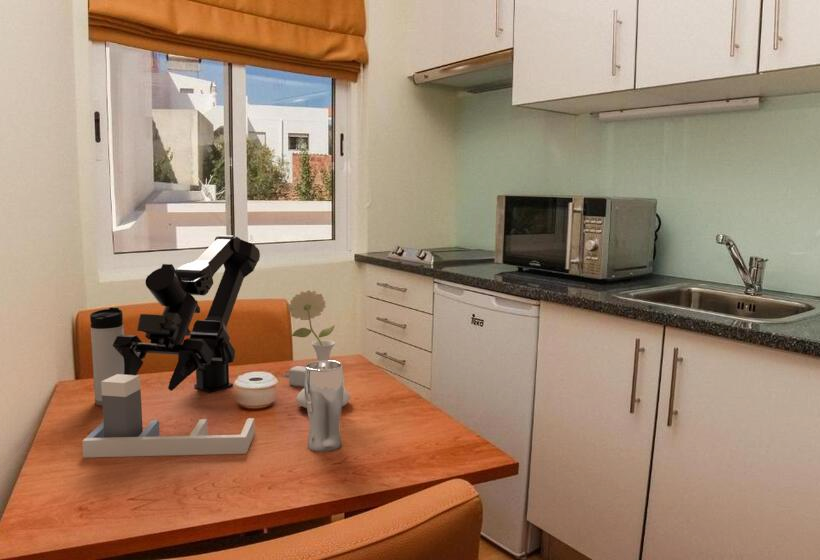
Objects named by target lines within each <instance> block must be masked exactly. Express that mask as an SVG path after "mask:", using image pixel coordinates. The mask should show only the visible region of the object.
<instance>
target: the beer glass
mask: <svg viewBox="0 0 820 560" xmlns="http://www.w3.org/2000/svg"><path fill="white" fill-rule="evenodd" d="M304 367H306V369H305V387H303V389H305V401H306V407H307V408H306V411H307V416H308V421H309V433H308V441H307V447H308V448H309V450H311V451H313V452H318V453H328V452H333V451H336V450H338V449H339V448H341V446H342V444H343V442H342V438H341V431H340V420H341V414H342V408H343V406H342V403H343V395H344V389H345V380H344V371H343V367H344V366H343V363H342V362H340V361H337V360H332V359H331V360H330V359H329V360H319V361H318V360H314V361H310V362H308V363H306V364H305V366H304Z"/></svg>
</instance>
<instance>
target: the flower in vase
mask: <svg viewBox="0 0 820 560" xmlns="http://www.w3.org/2000/svg"><path fill="white" fill-rule="evenodd" d="M326 308H327V307H326V301H325V300H324V297H323V294H322V293H317V292H316V291H315V290H313V291H311V290H307V291H300V293H299V294H298V293H297V294H295V295H294V296H293V297H292V299H291V300H290V303H289V304H288V305H287V309H288V312H289V313H290V316H291V317H292V318H294V319H300V321H309V327H310V329H309V328H306V327H300V328H298V329H296V330H295V331H294V332H292V334H291V336H292V337H298V338H307V337H308V336H309V335H310V334H313V335H314V336H315V338H316V339H317V340H314V341H312V342H311V343H310V344H311V346H312V347H313V349H314V351H315V353H316V358H317V361H319V360H330V355H331V351H332V349H333V347H334V346H335V344H336V342H335V341H334V340H328V339H323V340H322V339H320V338H325V337H327V336H329V335H330V334H332V332H333V330H334V329H335V324H334V325H332V326H330V327H326V328H325V329H322V330H321V331H320V332H319V333H318V335H317V334H316V333H315V330H313V326H312V321H311V319H315V317H318V316H319V317H320V316H321V313H323V312H324V309H326ZM350 401H351V395H350V393H349V391H348V390H346V389H345V388H344V395H343V403H342V407H344V406H345V405H347V404H348V403H349V402H350ZM296 402H297V403H298V405H299V406H301V407H303V408H305V409H307V407H306V401H305V389H304V388H302V389H301V391H300V392H299V393H298V395H297V397H296Z"/></svg>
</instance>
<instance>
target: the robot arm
mask: <svg viewBox="0 0 820 560" xmlns="http://www.w3.org/2000/svg"><path fill="white" fill-rule="evenodd" d="M213 241H214V242H213V243H211V244H210V245H209V246H208V248H206V250H204V252H202V254H200V256H198V258H197V259H196V260H194V261H192V262H188V263H184V264H182V265H181V266H179V267H178V268H175V266H174V265H173V264H171V263H162V265H161V267H160V268H159V267H158V268H157V269H155V270H153V271H152V272H151V273H150V274H149V275H146V279H145V286H146V288H147V289H148V290H149V292H150V293H151V294H152V295H153V297H154V298H155V300H156V301H157V302H158V304H159V305H161V306H163V307H164V309H163V312H162V314H161V315H160V314H151V313H150V314H149V313H140V314H139V319H138V324H137V328H136V330H137V332H143V333H145V335H144V336H145V337H146V339H147V340H150V342H143V341H142V340H141V339H140V338H139V336H138V335H133V334H124V335H119V336H117V337H116V339H115V341H114V343H113V345H112V346H113V347H114V348H115V349H116V350H117V351H118V352H119V353H120V354H121V355H122V356H123V358H124V375H137V374H138V372H139V371H140V369H141V368H142V367H143V365H144V361H143V359H144V358H146V355H147V354H160V355H162V354H163V355H175V356H176V355H178V357H177V363H176V366H175V368H174V370H173V374H172V375H171V377H170V380H169V384H168V387H167V388H168V390H169V391H170V392H172V391H174V390H175V389H176V388H177V387H178V386H179V385H180V384H181V383H182V382H183V381H185V379H187V378H188V377H189V376H190V375H192V374H193V373H194V372H195V375H196V376H195V378H196V380H195V381H196V382H195V384H193V385H194V388H195V389H198V390H199V389H200V390H202V391H205V392H208V393H213V392H216V391H220V390H223V389H227V388H230V387H234V383H232V382H230V375H229V374H230V373H229V370H230V369H229V367H230V366H229V364H231V363H233V362H234V360H235V356H236V350H235V348H234V346H233V345H232V343H231V342H230V339H231V337H230V335H229V334H230V333H229V330H228V328H227V327H228V324H229V321H230V318H231V316H232V312H233V310H234V306H235V304H236V302H237V298H238V295H239V294H240V293H239V292H240V290H241V288H242V284H243V282H244V279H245V277H247V276H248V275H251V273H252V272H254V271H255V268H256V266H257V264H258V262H259V261H260V259H261V257H260V256H261V253H260V249H259V248H258V247H257V246H256V245H255V244H254V243H252V242H249V241H246V240H243V239H241V238H240V237H238V236H236V235H228V234H227V235H226V234H225V235H224V234H220V235H217V236H215V238H214V240H213ZM222 266H223V267H224V272H223V273H222V276H221V278H220V281H219V283H218V287H217V290H216V292H215V295H214V297H213V300H212V303H211V306H210V308H209V309H208V313H207V316H206V318H205V319H203V320H202V319H196V321H195V322H193V326H192V327H193V328H192V330H190V329H189V327H190V324H191V323H192V319H193V317H194V314H199V313H201V307H200V306H199V304H198V300H196V298H195V297H194V296H206V295H207V294H208V293H209V292H210V290H211V288H212V286H213V285H214V279H213V277H214V275H215V274H216V273H217V272H218V271H219V270H220V268H221V267H222ZM186 336H188V338H186V339H185V337H186Z"/></svg>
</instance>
